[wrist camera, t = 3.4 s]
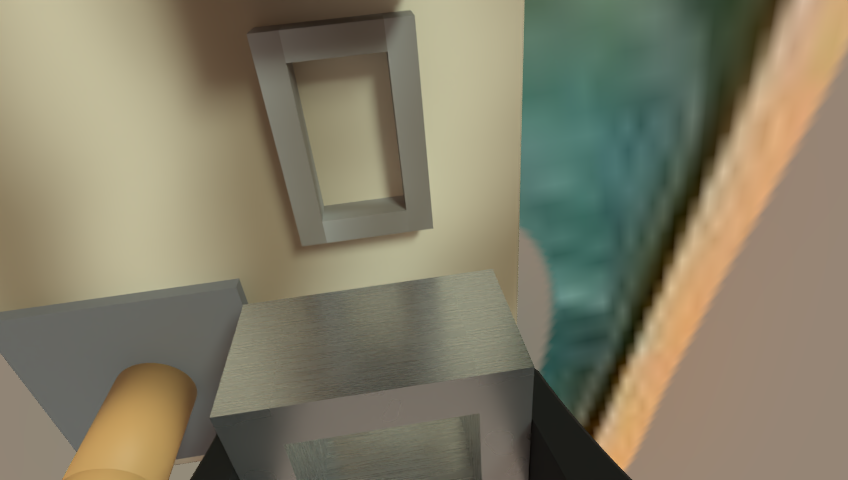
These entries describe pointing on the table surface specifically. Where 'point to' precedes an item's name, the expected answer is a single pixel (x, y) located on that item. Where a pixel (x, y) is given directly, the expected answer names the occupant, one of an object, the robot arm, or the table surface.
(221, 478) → the robot arm
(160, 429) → the square tray with peg
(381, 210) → the board
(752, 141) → the table surface
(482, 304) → the square metal tube
